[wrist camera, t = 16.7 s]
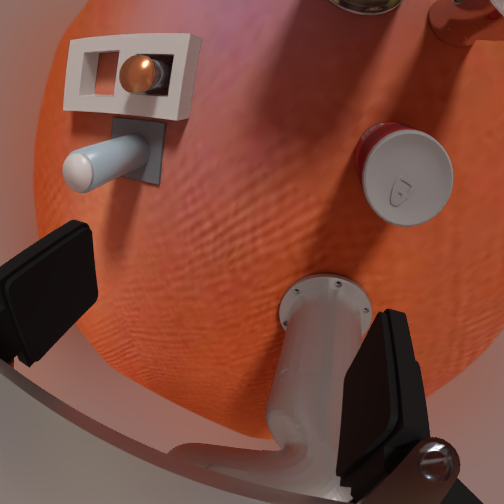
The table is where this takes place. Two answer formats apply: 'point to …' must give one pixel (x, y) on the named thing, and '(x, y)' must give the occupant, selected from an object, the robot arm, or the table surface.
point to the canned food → (403, 173)
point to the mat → (156, 141)
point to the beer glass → (467, 21)
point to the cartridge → (104, 162)
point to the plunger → (144, 74)
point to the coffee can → (367, 6)
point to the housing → (122, 102)
